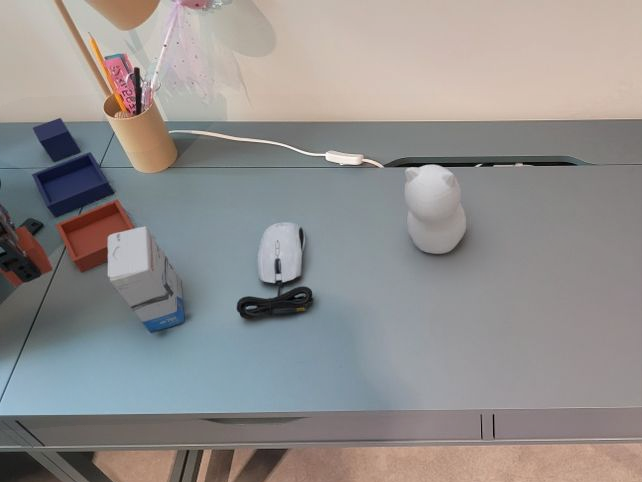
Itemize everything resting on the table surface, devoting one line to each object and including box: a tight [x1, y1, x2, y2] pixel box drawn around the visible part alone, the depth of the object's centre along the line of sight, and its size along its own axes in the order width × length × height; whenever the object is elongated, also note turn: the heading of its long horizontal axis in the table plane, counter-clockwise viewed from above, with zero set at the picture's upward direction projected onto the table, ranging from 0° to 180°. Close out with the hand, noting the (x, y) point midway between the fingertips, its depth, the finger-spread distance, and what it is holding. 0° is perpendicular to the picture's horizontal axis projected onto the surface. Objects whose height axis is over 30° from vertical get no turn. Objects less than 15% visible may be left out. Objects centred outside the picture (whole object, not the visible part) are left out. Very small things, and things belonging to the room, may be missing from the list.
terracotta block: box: [0, 225, 54, 288], centre depth 80 cm, size 4×4×4 cm
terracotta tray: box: [55, 198, 135, 273], centre depth 98 cm, size 9×9×2 cm
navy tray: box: [31, 151, 115, 218], centre depth 105 cm, size 9×9×2 cm
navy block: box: [32, 117, 82, 163], centre depth 110 cm, size 4×4×4 cm
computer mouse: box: [236, 221, 314, 320], centre depth 94 cm, size 10×18×4 cm, turn 10°
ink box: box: [107, 225, 185, 333], centre depth 87 cm, size 9×5×12 cm, turn 21°
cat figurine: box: [403, 164, 467, 255], centre depth 95 cm, size 9×12×15 cm
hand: (27, 264), depth 82 cm, fingers closed on terracotta block, 4 cm apart
